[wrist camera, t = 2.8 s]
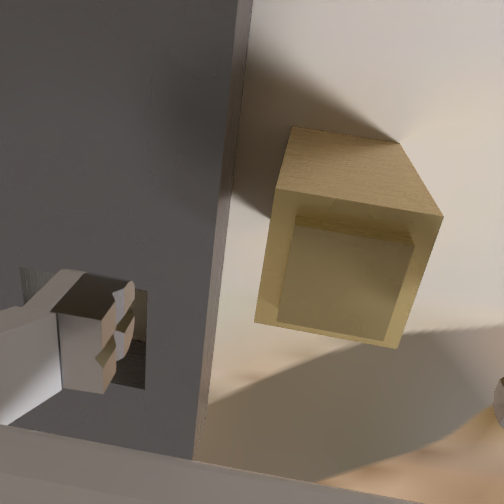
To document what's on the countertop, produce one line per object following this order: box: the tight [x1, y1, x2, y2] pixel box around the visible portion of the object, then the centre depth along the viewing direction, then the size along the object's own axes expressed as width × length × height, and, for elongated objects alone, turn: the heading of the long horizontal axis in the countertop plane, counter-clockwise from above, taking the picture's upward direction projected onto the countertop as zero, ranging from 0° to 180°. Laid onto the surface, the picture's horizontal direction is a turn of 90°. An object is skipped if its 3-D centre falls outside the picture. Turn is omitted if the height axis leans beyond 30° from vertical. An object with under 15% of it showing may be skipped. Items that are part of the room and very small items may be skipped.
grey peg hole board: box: [0, 0, 253, 461], centre depth 17 cm, size 10×30×3 cm, turn 173°
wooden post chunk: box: [254, 126, 444, 349], centre depth 15 cm, size 4×4×8 cm
